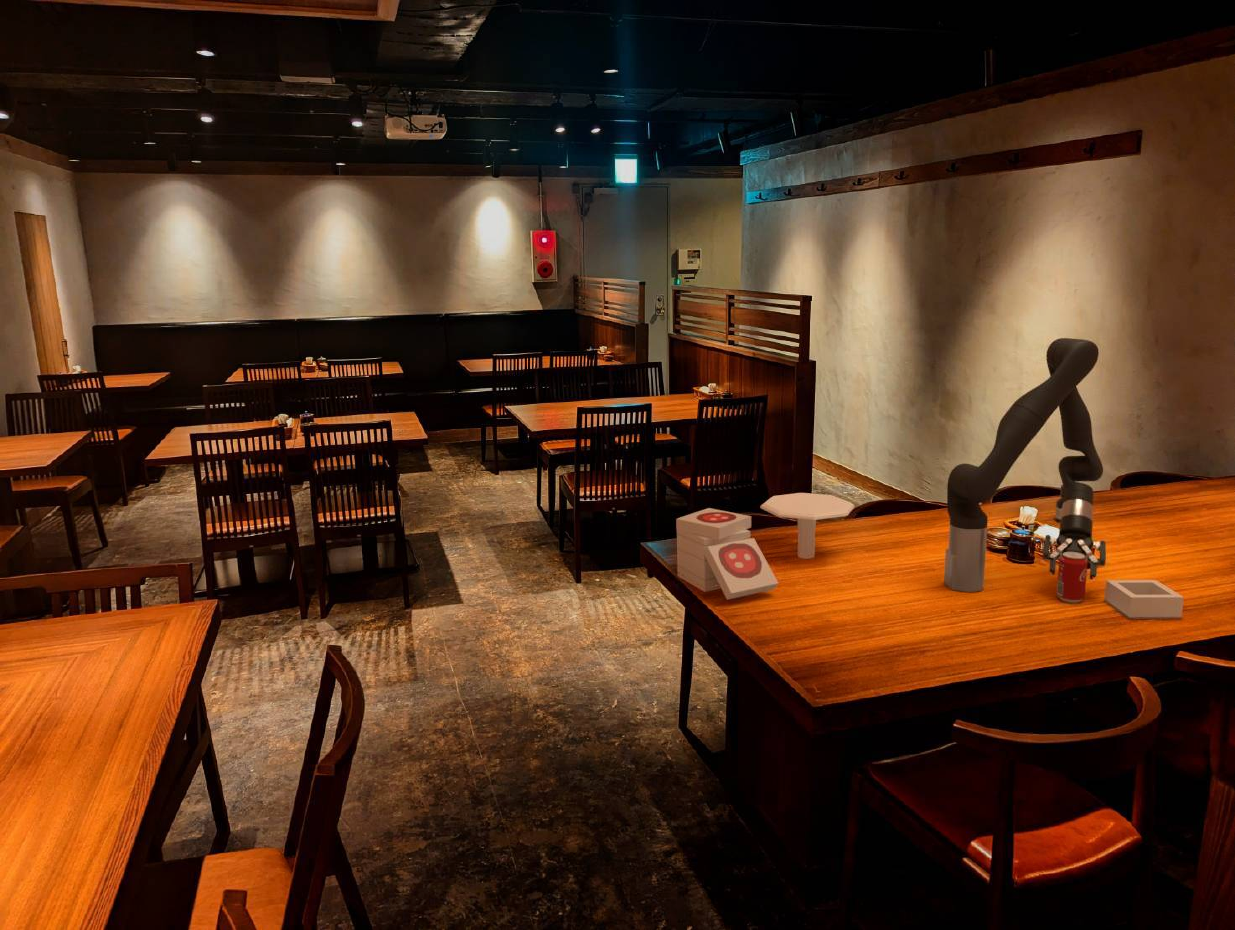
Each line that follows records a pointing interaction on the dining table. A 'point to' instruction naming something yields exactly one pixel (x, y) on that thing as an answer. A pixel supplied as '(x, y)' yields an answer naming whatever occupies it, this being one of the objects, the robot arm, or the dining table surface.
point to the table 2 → (807, 514)
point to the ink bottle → (1059, 505)
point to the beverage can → (1072, 577)
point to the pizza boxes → (721, 554)
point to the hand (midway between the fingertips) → (1072, 575)
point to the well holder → (1143, 599)
